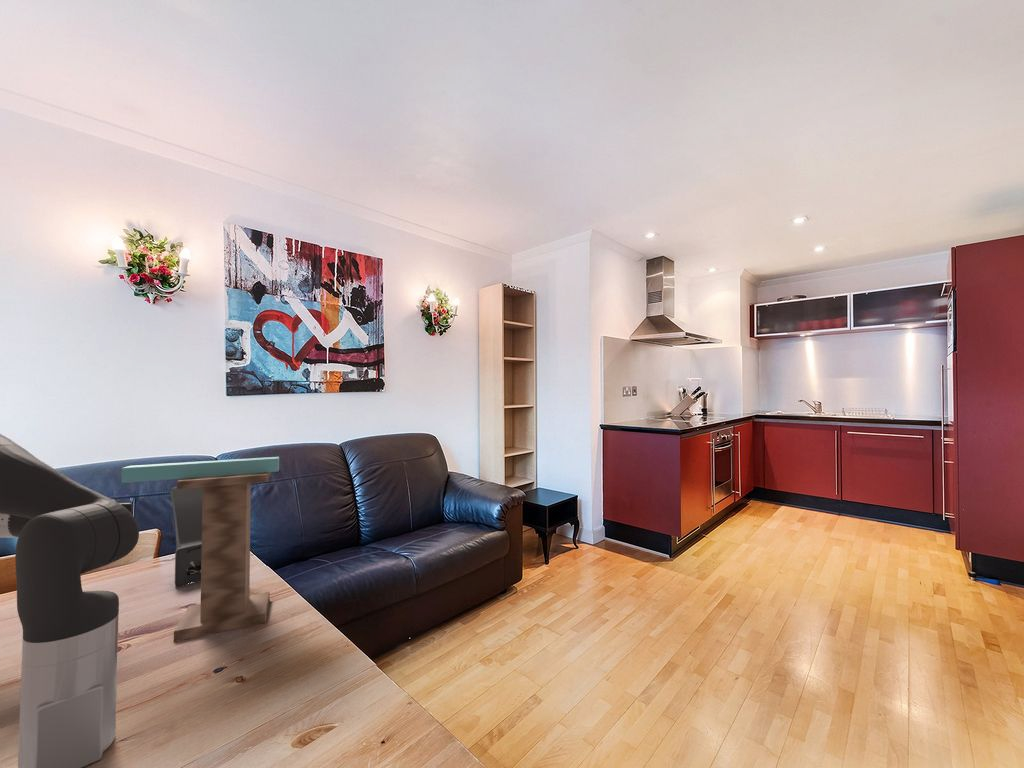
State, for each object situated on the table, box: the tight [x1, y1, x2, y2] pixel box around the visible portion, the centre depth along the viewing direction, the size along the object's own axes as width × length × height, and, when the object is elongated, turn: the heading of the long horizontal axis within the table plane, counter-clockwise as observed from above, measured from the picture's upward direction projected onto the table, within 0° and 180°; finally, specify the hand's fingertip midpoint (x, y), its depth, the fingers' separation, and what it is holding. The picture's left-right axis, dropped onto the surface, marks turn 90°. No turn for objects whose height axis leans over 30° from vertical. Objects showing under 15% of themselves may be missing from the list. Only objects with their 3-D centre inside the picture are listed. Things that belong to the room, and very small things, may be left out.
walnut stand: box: [173, 472, 272, 642], centre depth 95 cm, size 16×12×32 cm
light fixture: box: [169, 486, 203, 588], centre depth 122 cm, size 11×17×24 cm, turn 48°
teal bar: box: [120, 456, 280, 484], centre depth 94 cm, size 28×4×3 cm, turn 116°
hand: (119, 514), depth 89 cm, fingers open, 8 cm apart
